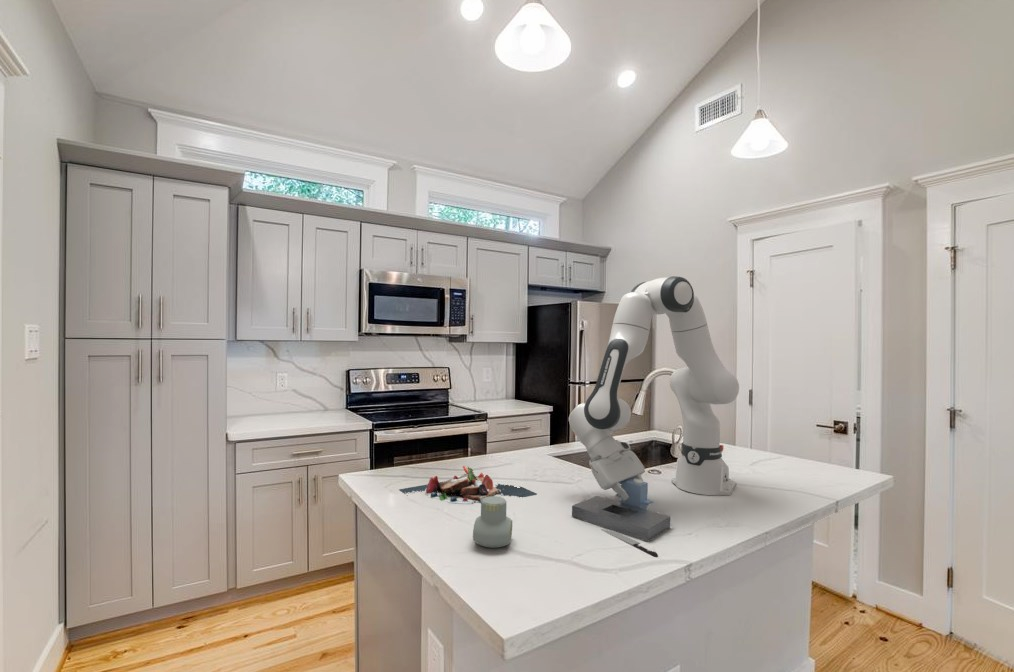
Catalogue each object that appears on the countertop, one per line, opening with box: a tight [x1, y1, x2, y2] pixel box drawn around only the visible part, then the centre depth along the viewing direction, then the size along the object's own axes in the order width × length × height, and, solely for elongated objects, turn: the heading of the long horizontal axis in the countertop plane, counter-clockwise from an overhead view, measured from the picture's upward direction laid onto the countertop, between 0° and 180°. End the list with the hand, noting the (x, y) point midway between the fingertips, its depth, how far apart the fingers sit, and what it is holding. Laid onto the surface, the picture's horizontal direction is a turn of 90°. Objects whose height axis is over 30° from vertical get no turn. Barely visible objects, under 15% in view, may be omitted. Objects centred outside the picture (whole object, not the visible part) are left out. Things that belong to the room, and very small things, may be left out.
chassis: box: [571, 495, 671, 543], centre depth 130 cm, size 12×22×3 cm, turn 47°
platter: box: [398, 465, 538, 505], centre depth 152 cm, size 35×27×9 cm
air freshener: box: [472, 495, 513, 549], centre depth 115 cm, size 11×8×10 cm
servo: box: [615, 478, 654, 510], centre depth 139 cm, size 4×10×9 cm, turn 47°
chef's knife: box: [600, 528, 659, 558], centre depth 118 cm, size 19×1×3 cm
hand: (636, 494), depth 139 cm, fingers open, 8 cm apart
